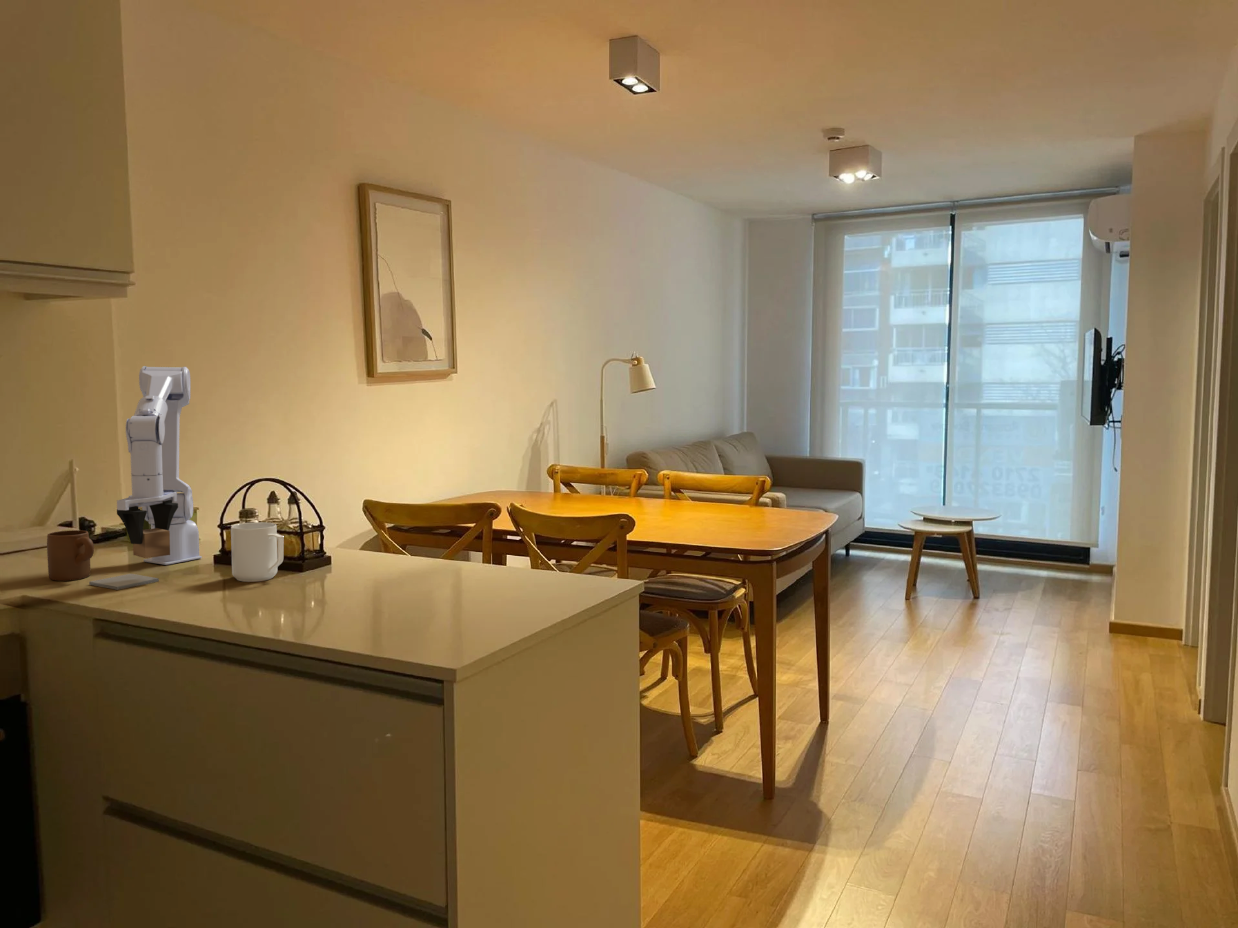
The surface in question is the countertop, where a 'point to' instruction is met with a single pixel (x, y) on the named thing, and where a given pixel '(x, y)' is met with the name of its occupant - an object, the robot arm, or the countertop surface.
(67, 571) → the mug
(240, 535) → the mug
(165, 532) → the walnut block
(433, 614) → the countertop surface
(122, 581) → the slate coaster
